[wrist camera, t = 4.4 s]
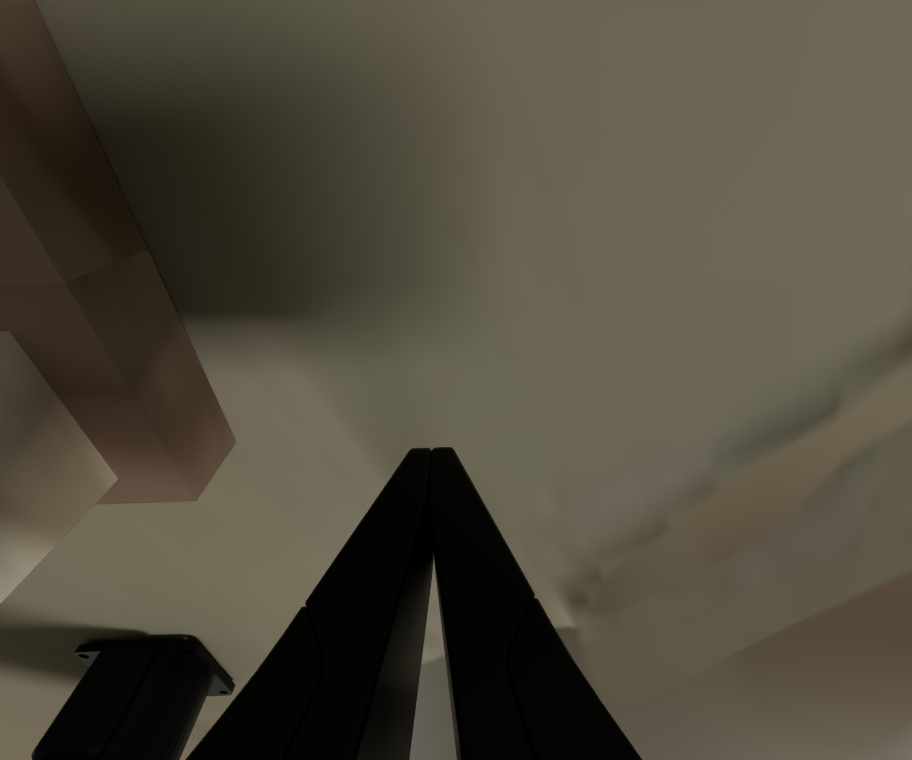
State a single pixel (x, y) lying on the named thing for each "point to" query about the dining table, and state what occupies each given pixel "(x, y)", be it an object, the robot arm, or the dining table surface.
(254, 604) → the dining table surface
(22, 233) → the trap deck
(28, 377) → the birch block
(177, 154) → the dining table surface
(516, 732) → the robot arm
